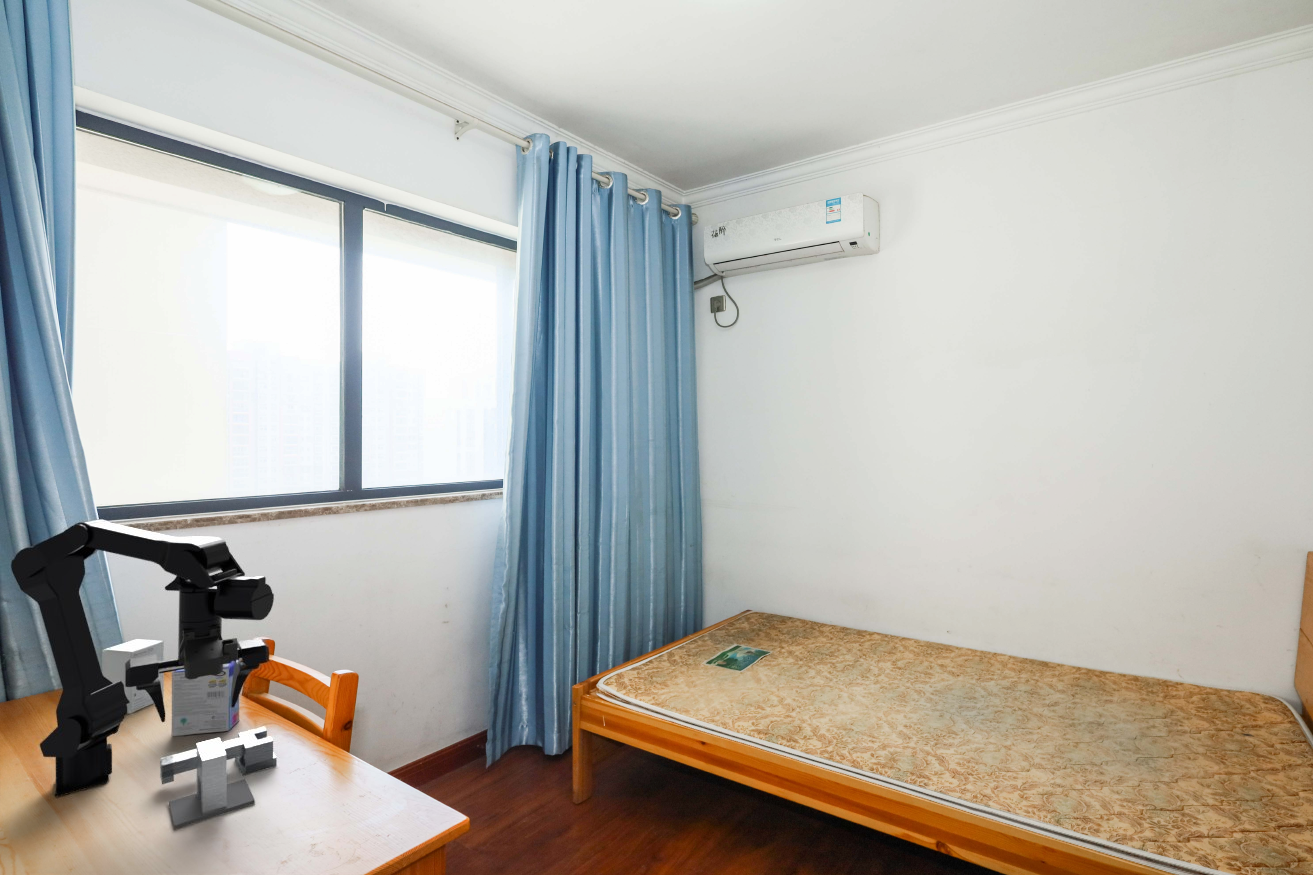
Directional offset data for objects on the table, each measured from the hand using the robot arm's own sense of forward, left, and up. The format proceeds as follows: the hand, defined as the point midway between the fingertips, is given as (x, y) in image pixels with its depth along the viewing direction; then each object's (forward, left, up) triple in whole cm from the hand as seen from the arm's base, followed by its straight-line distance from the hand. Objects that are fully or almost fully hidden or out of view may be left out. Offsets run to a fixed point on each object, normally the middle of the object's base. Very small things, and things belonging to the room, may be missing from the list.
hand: (198, 713), depth 106 cm
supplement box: (-6, +45, -12) cm, 47 cm away
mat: (+1, -8, -12) cm, 14 cm away
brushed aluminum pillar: (+1, -8, -7) cm, 10 cm away
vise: (+3, +2, -12) cm, 12 cm away
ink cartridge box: (+4, +23, -12) cm, 26 cm away
